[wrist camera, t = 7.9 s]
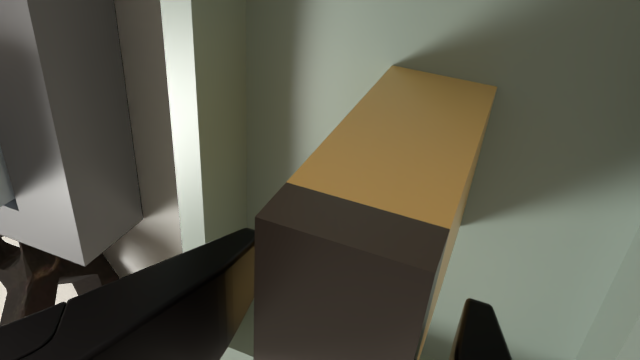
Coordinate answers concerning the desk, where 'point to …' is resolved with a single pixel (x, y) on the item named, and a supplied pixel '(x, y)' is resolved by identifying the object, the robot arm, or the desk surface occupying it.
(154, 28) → the desk surface
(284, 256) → the tan and brown block
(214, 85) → the parts tray
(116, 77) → the fuse block
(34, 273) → the wrench
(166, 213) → the desk surface
